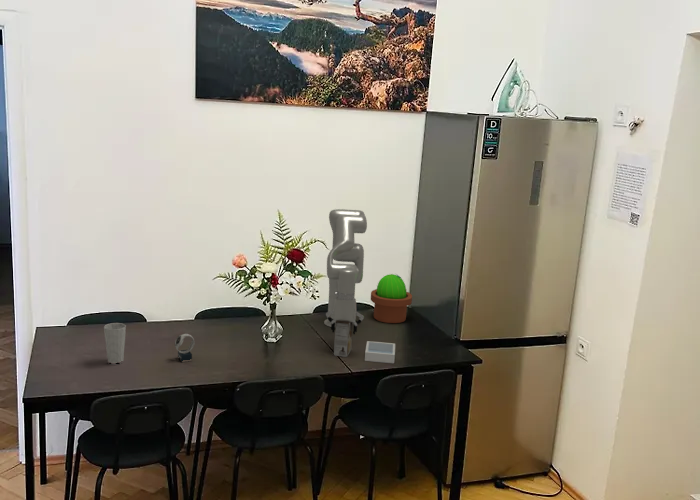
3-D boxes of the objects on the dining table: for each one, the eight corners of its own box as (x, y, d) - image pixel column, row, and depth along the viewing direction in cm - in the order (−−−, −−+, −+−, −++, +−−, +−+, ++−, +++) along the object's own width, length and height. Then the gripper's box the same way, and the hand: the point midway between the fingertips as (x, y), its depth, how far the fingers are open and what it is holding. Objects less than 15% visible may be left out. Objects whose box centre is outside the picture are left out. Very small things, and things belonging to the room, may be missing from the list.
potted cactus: (370, 323, 321) (373, 277, 316) (368, 310, 343) (371, 267, 337) (412, 326, 322) (416, 279, 316) (407, 313, 343) (411, 269, 338)
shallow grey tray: (366, 349, 285) (367, 341, 285) (394, 351, 285) (395, 343, 284) (364, 360, 272) (365, 352, 271) (394, 363, 271) (394, 354, 270)
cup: (114, 367, 249) (113, 331, 245) (99, 362, 253) (99, 326, 249) (131, 361, 256) (130, 325, 253) (116, 356, 260) (116, 321, 257)
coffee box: (337, 348, 284) (339, 315, 281) (351, 350, 283) (353, 316, 280) (333, 355, 276) (335, 321, 272) (347, 357, 274) (349, 323, 271)
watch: (173, 358, 262) (173, 333, 259) (192, 355, 266) (192, 331, 263) (176, 363, 257) (176, 338, 255) (195, 360, 261) (196, 335, 259)
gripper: (325, 296, 271) (323, 333, 274) (365, 299, 269) (362, 337, 273) (327, 291, 278) (325, 328, 282) (366, 295, 277) (363, 331, 280)
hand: (343, 332), depth 277 cm, fingers open, 9 cm apart
